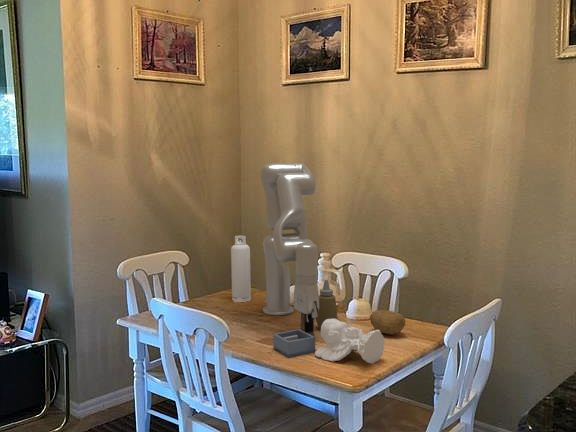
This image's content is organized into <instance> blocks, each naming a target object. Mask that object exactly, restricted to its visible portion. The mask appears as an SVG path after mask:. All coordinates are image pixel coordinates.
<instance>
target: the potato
mask: <svg viewBox="0 0 576 432" xmlns="http://www.w3.org/2000/svg"><path fill="white" fill-rule="evenodd" d="M369 318H370V324H371V325H372V327H373V328H374V329H375V330H380V331H381V334H384V335H396V334H398V333H400V332H401V331H402V330H403V329H404V328H405V326H406V319H405V317H404V316H403V315H402V314H401V313H398V312H395V311H392V310H385V309H378V310H375V311H372V312H371V313H370V317H369Z"/></svg>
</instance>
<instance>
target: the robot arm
mask: <svg viewBox="0 0 576 432" xmlns="http://www.w3.org/2000/svg"><path fill="white" fill-rule="evenodd" d="M260 182H261V185H262V187H263V192H264V194H265V215H266V217H265V219H266V226H267V228H268V229H270V230H272V231H273V233H270V234H269V235H267V236H265V237H264V239H263V242H262V247H263V252H264V253H263V254H264V257H265V258H264V259H265V260H264V261H265V281H266V282H265V284H266V286H265V287H266V289H265V290H266V291H265V293H266V298H265V300H264V302H265V303H266V306H264V307H263V308H262V312H263V313H264V314H266V315H268V316H269V315H270V316H286V315H291V314H293V313H294V312H295V311H297V312H298V313H299V319H300V320H301V312H302V313H304V314H306V322H305V332H306V333H309V332H313V321H314V322H315V319H316V317H318V314H317V313H318V312H319V295H320V291H319V286H318V284H319V277H318V271H319V270H318V264H319V263H318V257H319V256H318V255H319V253H318V245H317V244H315V243H314V242H313V241H312V240H311V239H308V229H307V228H308V227H307V226H308V225H307V221H308V220H307V213H306V211H305V206H304V201H303V196H309V195H310V196H311V195H314V194H315V191H316V187H317V186H316V179H315V176H314V174H313V173H312V171H311V170H310V169H309V168H308V166H306V164H304V163H302V162H273V163H267V164H264V165H263V166H262V167H261V170H260ZM290 230H291V231H292V230H293V232H283V231H290ZM288 262H295V282H294V289H293V291H294V292H293V306H292V305H291V274H290V273H291V270H290V266H289V265H288ZM309 315H310V316H309Z"/></svg>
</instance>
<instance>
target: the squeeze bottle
mask: <svg viewBox="0 0 576 432" xmlns="http://www.w3.org/2000/svg"><path fill="white" fill-rule="evenodd" d="M322 287H323V288H320V289H319V312H318V313H317V314H318V317H316V318H315V322H316V325H317V327H318V329H319V330H321V326H322V323H323V322H324V321H325V320H327V319H333V318H334V319H337V320H339V319H338V310H337V309H338V308H337V301H336V296H335V295H334V293H333V292H334V290H333V289H331V288H330V284H329V279H324V283H323V286H322Z"/></svg>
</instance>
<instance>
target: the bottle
mask: <svg viewBox="0 0 576 432" xmlns="http://www.w3.org/2000/svg"><path fill="white" fill-rule="evenodd" d="M230 263H231V266H230V268H231V294H232V295H231V300H233V301H234V302H233V301H232V302H233V303H237V302H244V303H248V302H247V301H249V302H251V301H252V296H251V294H252V293H251V292H252V291H251V289H252V287H251V282H252V281H251V248H250V246H249V245H248V244H247V238H246V235H235V236H234V244H233V245H232V246H231V247H230ZM236 298H237V299H236ZM250 300H251V301H250Z"/></svg>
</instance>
